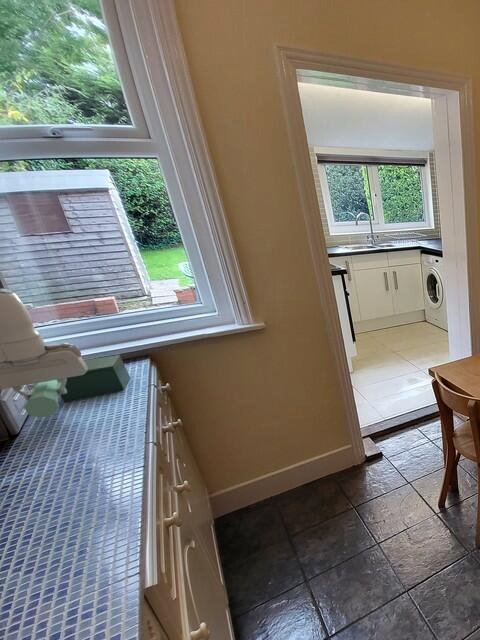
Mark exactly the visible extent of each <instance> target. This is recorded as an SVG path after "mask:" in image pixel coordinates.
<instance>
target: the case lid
mask: <svg viewBox="0 0 480 640" xmlns="http://www.w3.org/2000/svg"><path fill="white" fill-rule="evenodd" d="M120 357H121V355H120V354H115V355H109V356H102V357H97V358H91V359H83V360H84V362H85V363H86V365H87V367H88V370H87V372H86V373H88V372H94V371H100V370H106V369H112V368H114V367H115V365H116V363H117V362H118V360H119V358H120Z"/></svg>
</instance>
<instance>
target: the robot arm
mask: <svg viewBox="0 0 480 640" xmlns="http://www.w3.org/2000/svg"><path fill="white" fill-rule="evenodd" d="M84 360H85V359H84V358H83V357H82V352H81V350H80V348H79V346H77V345H75V344H72V343H68V342H64V343H60V344H51V345H47V344H46V343H45V341H44V339H43V337H42V335H41V334H40V332H39V331H38V330H37V328H35V327H34V324H33V318H32V316H31V314H30V312H29V311H28V309H27V307H26V305H25V304H24V303H23V301H22V300H21V298H20V297H19V295H17V294H16V293H15V292H14V291H12V290H10V289H7V288H3V287H2V288H1V287H0V386H1V390H5V389H13V391H14V392H16V393H17V394H19V395H21V396H23V397H24V398H25V400H26V401H27V402H28V400H29V399H30V397H31V395H32V392H33V391H31V392H29V391H27V390H26V389H24V388H25V386H29V385H34V384H35V385H36V383H40V382H46V381H51V380H57V381H58V383H61V386H60V387H58V388H57V389H56V391H57V392H58V394H59V396H60V395H61V394H66V393H67V390H66V388H65V385H66V382H67V378H68V377H74V376H80V375H84V374H85V373H86V372H87V370H88V367H87V365H86V363H85V362H84Z"/></svg>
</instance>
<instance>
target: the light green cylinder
mask: <svg viewBox="0 0 480 640" xmlns="http://www.w3.org/2000/svg"><path fill="white" fill-rule="evenodd" d="M60 386H61V383H58V381H57V380H51V381H46V382H40V383H35V385H34V387H33V390H32V391H31V392H32V395H31V397H30V399H29V400H28V401H27V402H26V403H25V404H24V405H23V408H24V410H25V411H26V413H27V415H28V416H31V417H35V418H38V419H43V418H47V417H52V416H54V415H55V414H56V412H57V411H58V409H59V408H60V406H59V404H58V402H59V397H60V395H59V394H58V392H57V391H56V389H57V388H58V387H60Z"/></svg>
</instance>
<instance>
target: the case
mask: <svg viewBox="0 0 480 640" xmlns="http://www.w3.org/2000/svg"><path fill="white" fill-rule="evenodd" d="M130 379H131V376H130V374H129V372H128V370H127V368H126V365H125V363H124V361H123V359H122V357H121V356H120V358H119V360H118V362H117V363H116V365H115V367H114V368H112V369H106V370H100V371H94V372H88V373H85V374H84V375H80V376H74V377H68V378H67V382H66V385H65V388H66V390H67V393H66V394H61V395H59V397H60V398H61V399H62V402H63V403H70V402H75V401H79V400H84V399H89V398H93V397H98V396H102V395H109V394H112V393H117V392H122V391H125V389H126V387H127V386H128V383H129V381H130Z"/></svg>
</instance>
